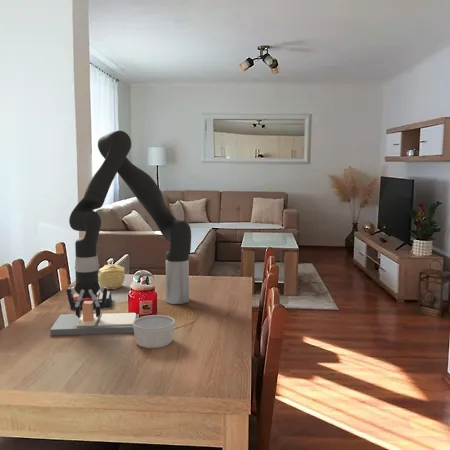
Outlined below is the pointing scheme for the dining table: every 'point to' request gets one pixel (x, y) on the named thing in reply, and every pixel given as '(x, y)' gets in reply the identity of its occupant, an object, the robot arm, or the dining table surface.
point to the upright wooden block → (87, 315)
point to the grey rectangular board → (104, 324)
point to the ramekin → (153, 331)
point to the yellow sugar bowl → (111, 276)
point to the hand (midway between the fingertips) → (88, 316)
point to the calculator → (106, 305)
